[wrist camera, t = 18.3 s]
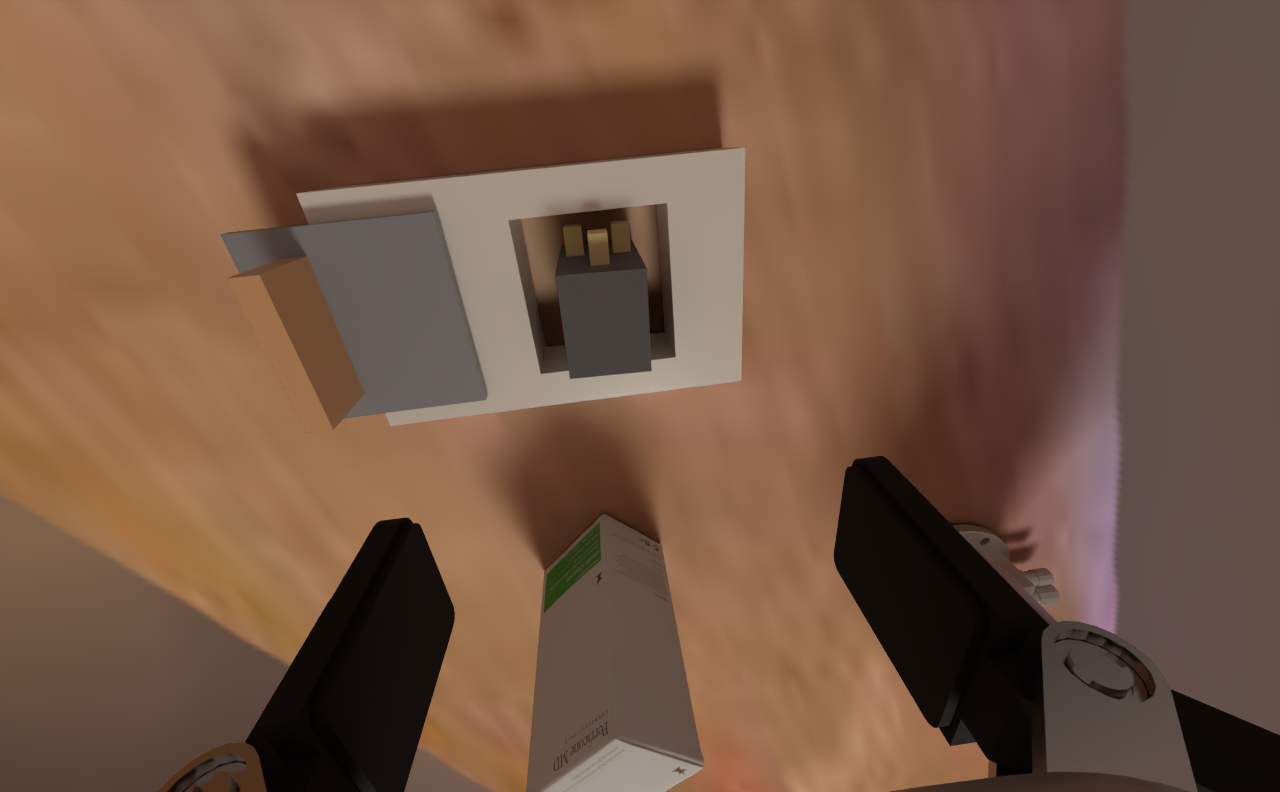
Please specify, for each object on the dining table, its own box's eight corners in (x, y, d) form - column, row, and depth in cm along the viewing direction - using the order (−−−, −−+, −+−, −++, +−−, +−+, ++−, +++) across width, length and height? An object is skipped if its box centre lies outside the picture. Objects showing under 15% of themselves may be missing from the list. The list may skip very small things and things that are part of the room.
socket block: (722, 147, 25) (745, 147, 21) (723, 353, 31) (741, 380, 27) (338, 186, 24) (295, 193, 20) (413, 393, 30) (390, 426, 26)
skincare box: (604, 509, 36) (617, 733, 22) (667, 545, 38) (714, 766, 25) (540, 573, 38) (516, 811, 25) (603, 603, 41) (613, 834, 27)
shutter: (436, 210, 21) (406, 223, 17) (488, 395, 26) (472, 435, 22) (229, 232, 21) (154, 250, 17) (319, 416, 25) (275, 461, 21)
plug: (630, 214, 26) (644, 235, 20) (637, 323, 29) (651, 370, 23) (558, 220, 26) (550, 242, 20) (572, 329, 29) (569, 378, 23)
